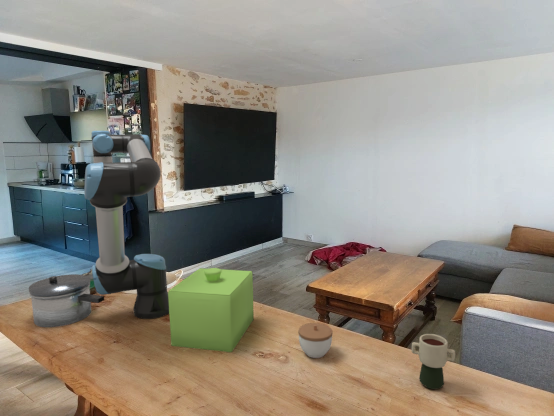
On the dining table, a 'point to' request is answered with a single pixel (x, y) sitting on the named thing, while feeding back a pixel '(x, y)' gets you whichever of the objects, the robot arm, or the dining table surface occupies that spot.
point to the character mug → (432, 359)
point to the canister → (211, 309)
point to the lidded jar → (315, 339)
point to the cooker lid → (59, 285)
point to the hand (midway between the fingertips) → (107, 219)
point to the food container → (91, 282)
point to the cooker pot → (63, 308)
